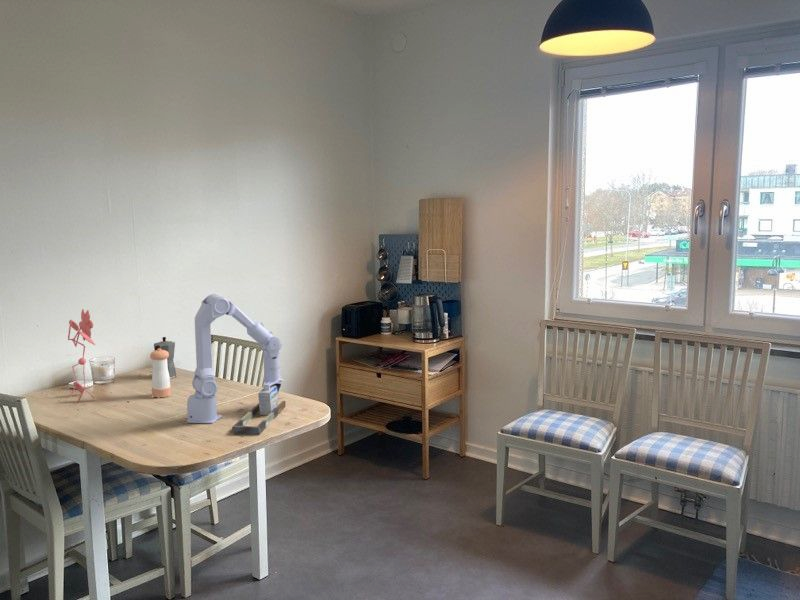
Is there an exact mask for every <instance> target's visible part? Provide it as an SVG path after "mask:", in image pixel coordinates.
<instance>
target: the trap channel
mask: <svg viewBox="0 0 800 600" xmlns="http://www.w3.org/2000/svg"><path fill="white" fill-rule="evenodd" d="M285 407H286V400H282V401H281V402H280V403H278V406H277V407H276V408H275V409H274V410H273V411H272V412H271V413H270V414H269V415H266V417H265V418H264V419H263V420H261V422H260V423H259V424H258V425H257V426H253V425H252V426H251V425H249V426H248V425H247V424H248V423H249V422H251V420H252V419H253V418H255V417H256V416H257V415H258V414H260V408H259V402H258V403H257V404H256V405H255V406H254V407H253V408H251V410H249V411H248V412H247V413H246V414H245V415H244V416H242V418H240V419H239V420H238V421H237V422H236V423H235V424H234V425H232V435H244V436H245V435H250V436H251V435H253V436H260V435H261V434H262V433H263V432H264V431H265V429H266V428H268V426H270V424H271V423H272V422H273V421H274V420H276V418H277V417H278V416H279V415H280V414H281V413H282V412H283V411H282V410H283V409H284V408H285ZM286 408H287V407H286ZM286 408H285V409H286ZM285 409H284V410H285ZM281 411H282V412H281ZM280 412H281V413H280ZM279 413H280V414H279ZM278 414H279V415H278Z"/></svg>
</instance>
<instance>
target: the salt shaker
mask: <svg viewBox="0 0 800 600" xmlns="http://www.w3.org/2000/svg"><path fill="white" fill-rule="evenodd" d="M154 350H155V349H154ZM154 350H153V351H151V353H150V355H149V358H150V359H151V360H152V376H151V377H152V378H151V383H152V384H151V386H152V387H151V397H152V396H153V397H166V396H169V395H171V394H172V386H171V379H170V376H169V372H168V365H167V358H168V357H169V353H168V352H167V351H165V350H161V349H160V348H158V349H157V350H155V351H154ZM171 396H172V395H171ZM153 397H152V398H153ZM169 397H170V396H169ZM166 398H167V397H166Z"/></svg>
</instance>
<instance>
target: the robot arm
mask: <svg viewBox="0 0 800 600" xmlns="http://www.w3.org/2000/svg"><path fill="white" fill-rule="evenodd" d="M224 315H227V316H230V317H232V318H234V319H235V320H236V321H237V322H239V323H240V324H241V325H242V326H243V327H245V328H246V333H247V335H249V337H251V338H252V339H253V340H254V341H255V342H256V343H258V345H260V348H262V351H263V370H264V371H263V372H264V373H263V374H264V376H263V378H264V379H263V383H264V384H263V388H264V390H270V387H271V385H272V386H277V391H278V393H279V392H280V388H281V387H282V384H281V383H283V381H284V378H282V376H281V375H282V374H281V366H280V365H281V363H280V350H281V348H282V345H283V344H282V343H281V340H280V338H278V337H276V336H274V335H273V334H274V332H272V331H269V330H268V329H267V328H266V327H265V324H264V323H263V322H259V321H253V320H251V318H250V317H249V316H248V315H246V313H245V312H243V311H242V309H240V308H239V307H238V306H237V305H236V304H234V303H233V302H231V301H230V300H229V299H228V298H226V297H224V296H219V295H218V294H216V293H213V294H209V295H207V296H206V297H205V298H204V299H203V300H201V305H200V307H199V309H198V311H197V312H196V314H195V316H194V336H195V337H194V339H195V340H194V341H195V357H196V358H195V360H196V362H195V363H196V369H195V371H194V376H193V379H192V384H191V385H192V387H193V390H195V392H194V394H191V395H189V396H188V398H187V403H186V407H187V408H186V409H187V412H186V413H187V421H186V423H190V424H195V423H196V424H214V423H215V422H216V421H218V420H219V419H220V418H221V417H222V415H221V414H218V407H217V392H218V388H219V387H218V383H217V381H216V378H215V373H214V370H213V359H212V357H213V356H212V335H211V334H212V333H211V332H212V330H211V324H212V323H213V322H215V320H216V319H218V318H220V317H222V316H224Z"/></svg>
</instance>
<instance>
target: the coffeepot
mask: <svg viewBox="0 0 800 600" xmlns="http://www.w3.org/2000/svg"><path fill="white" fill-rule="evenodd" d="M161 339H162V341H158V342H155V343H154V344H153V348H154V350H153V351H155V350H157V349H158V348H160V349H161V350H165V351H167V352H168V353H169V357H168V358H167V365H168V372H169V376H170V377H173V376H176V374H177V371H176V366H175V362H174V358H175V347H176V342H175V341H172V340H171V341H170V340H166V339H167V337H166V336H163V337H161ZM176 377H177V376H176Z"/></svg>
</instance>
